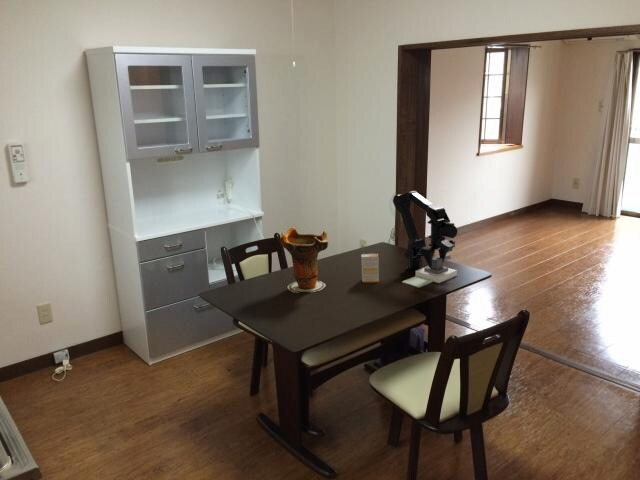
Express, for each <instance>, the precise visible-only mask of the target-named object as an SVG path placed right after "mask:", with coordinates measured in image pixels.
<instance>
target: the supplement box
mask: <svg viewBox="0 0 640 480" xmlns="http://www.w3.org/2000/svg"><path fill="white" fill-rule="evenodd" d="M360 257H361V259H360V260H361V283H379V282H380V265H379V263H380V262H379V261H380V260H379V258H380V257H379V253H362V254H361V256H360Z"/></svg>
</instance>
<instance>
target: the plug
mask: <svg viewBox="0 0 640 480" xmlns="http://www.w3.org/2000/svg"><path fill="white" fill-rule="evenodd" d="M438 257H439V256H434V257H433V258H432V267H431V268H430V267H429V266H428V265H427V266H428V267H427V266H425V267H423V268H424V271H427V272H431V273H434V274H440V273H443V272H445V271H448V268H449V267H447V266H445V265H443V263H442V258H438Z"/></svg>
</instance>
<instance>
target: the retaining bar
mask: <svg viewBox="0 0 640 480" xmlns="http://www.w3.org/2000/svg"><path fill="white" fill-rule="evenodd" d="M437 257H438V258H440V256H437ZM451 258H452V255H451V254H446V257H445V259H444V261H448V260H451Z"/></svg>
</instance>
